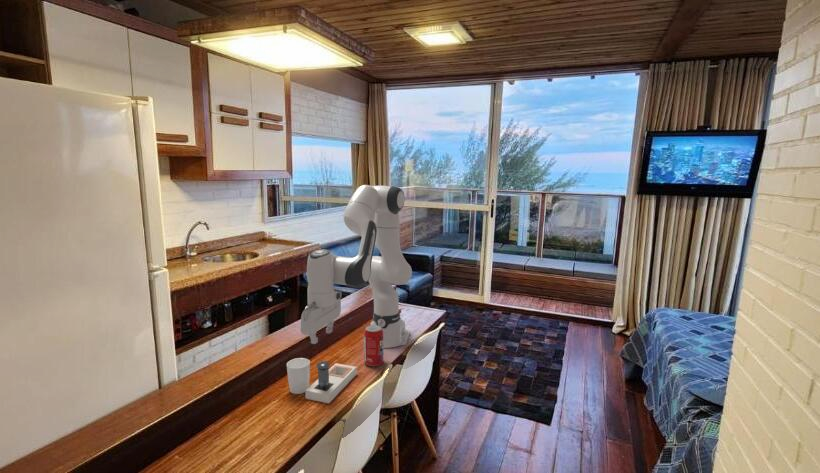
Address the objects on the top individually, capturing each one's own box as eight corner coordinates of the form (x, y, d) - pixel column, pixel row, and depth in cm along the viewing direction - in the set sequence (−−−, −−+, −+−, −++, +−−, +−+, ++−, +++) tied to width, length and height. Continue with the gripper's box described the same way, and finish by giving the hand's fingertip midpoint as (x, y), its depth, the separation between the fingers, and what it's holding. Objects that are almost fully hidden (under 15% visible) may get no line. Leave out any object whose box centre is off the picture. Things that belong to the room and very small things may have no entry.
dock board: (335, 370, 159) (335, 362, 158) (356, 374, 156) (356, 366, 155) (305, 398, 139) (305, 389, 139) (328, 403, 136) (328, 394, 136)
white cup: (315, 385, 148) (314, 359, 146) (302, 396, 140) (301, 369, 139) (296, 381, 150) (295, 356, 148) (283, 392, 143) (281, 366, 141)
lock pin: (321, 389, 145) (320, 360, 143) (332, 392, 143) (332, 362, 142) (315, 396, 141) (314, 366, 139) (326, 398, 139) (325, 368, 137)
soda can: (360, 363, 165) (359, 328, 162) (374, 356, 170) (374, 322, 168) (373, 369, 160) (372, 333, 157) (387, 363, 165) (387, 327, 163)
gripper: (312, 309, 126) (313, 351, 128) (343, 291, 145) (344, 328, 147) (294, 306, 128) (296, 348, 130) (328, 289, 147) (328, 326, 149)
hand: (322, 337), depth 138 cm, fingers open, 8 cm apart
